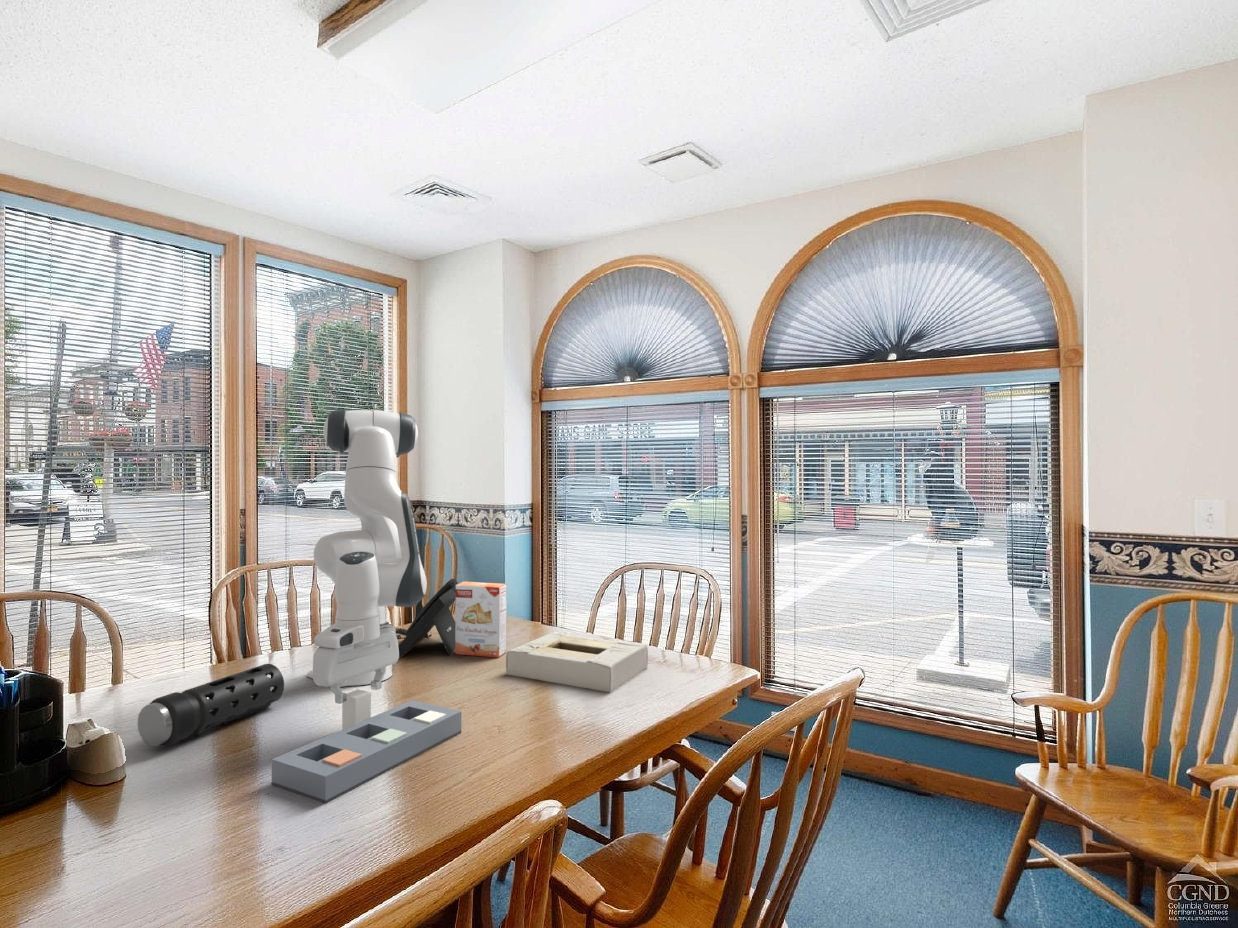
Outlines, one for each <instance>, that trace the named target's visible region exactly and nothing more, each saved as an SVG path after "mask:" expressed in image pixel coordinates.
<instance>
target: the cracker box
mask: <svg viewBox="0 0 1238 928" xmlns="http://www.w3.org/2000/svg"><path fill="white" fill-rule="evenodd" d="M454 620H455V651H454V654H455V655H464V656H474V657H475V656H477V657H488V658H500V657H501V656H503V655H505V654H506V653H507V584H506V583H499V582H497V583H496V582H481V581H480V582H479V581H462V582H458V584H457V585H456V600H455V618H454Z"/></svg>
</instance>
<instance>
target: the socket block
mask: <svg viewBox="0 0 1238 928" xmlns="http://www.w3.org/2000/svg"><path fill="white" fill-rule="evenodd" d="M461 733H462V710H457V709H453V708H449V707H445V706H440V705H436V704H431V703H427V702H422V701H418V700H413V699H411V700H409V701H407V702H404V703H402V704H400V705H397V706H395V707H393V708H390V709H387V710H385V711H383V712H381V713H379V714H376V715H374V716H371V718H369V719H366V720H364V721H361V722H359V723H357V724H354V725H352V726H350V727H347V728H345V729H342V728H341V729H340V730H338V731H336V732H333V733H331V734H329V735H326V736H324V737H321V738H319V739H317V740H314V741H312V742H310V743H308V744H304V745H302V746H299V747H298V748H295V749H293V750H291V751H288V752H286V753H283V754H281V755H279V756H276V757H273V758H272V759H271V785H272V786H275V787H277V788H280V789H283V790H287V791H289V792H292V793H295V794H298V795H301V796H304V797H306V798H309V799H312V800H316V801H318V802H320V803H324V804H327V803H329V802H331V801H333V800H335V799H337V798H339V797H340V796H342V795H344V794H346V793H349V792H351V791H352V790H354V789H356V788H358V787H360V786H362V785H364V784H366V783H368V782H370V781H371V780H373V779H375V778H377V777H379V776H381V775H383V774H385V773H386V772H389V771H390V770H392V769H395V768H396V767H398V766H400V765H402V764H404V763H406V762H407V761H411V759H413V758H416V757H418V756H419V755H421V754H423V753H425V752H426V751H428V750H429V751H430V749H433V748H434V747H436V746H438V745H440V744H442V743H444V742H446V741H448V740H450V739H451V738H453V737H456V736H457V735H460V734H461Z"/></svg>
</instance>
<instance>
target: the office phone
mask: <svg viewBox="0 0 1238 928" xmlns="http://www.w3.org/2000/svg"><path fill="white" fill-rule="evenodd" d="M457 584H459V582H458V580H457V579H455V578H451V579H449V580H448V581H447V582H446V583H445V584H444V585H443V586H442V587H441V588H440V589H439V590H438V591H437V592H436V593H435V594H434V595H433V596H432V597H431V598H430V599H429V601H428V602H427V603H426V604H425V605H424V606H423V607H422V609H420V611H419V613H417V615H416V617H414V619H413V621H412V622H411V623H410V625H409V627H408V628H407V629H405V628H401V627H395V628H396V633H399V634H396V636H397V641H398V640H402V639H403V640H402V641H401V642H400V643H398V648H399V659H400V658H403V657H404V656H405V655H406V654H407V653H408V652H409V651H411V649H413V648H414V647H415V646H416V645H418V643H420V642H421V641H422V640H424V639H425V638H431V637H432V634H429V632H431V630H432V629H433V627H434V626H435V628H436V631H437V633H438V635H439V638H440V640H441V642H442V644H443V646H444V648H445V650H446V652H447V655H448V657H450V656H451V655H452V654H453V653H455V618H454V616H453V614H452V612H451V610H450V607H451V606H452V605H453V604H454V602H456V585H457ZM401 634H404V635H405V637H402V636H401Z"/></svg>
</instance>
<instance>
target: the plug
mask: <svg viewBox="0 0 1238 928" xmlns="http://www.w3.org/2000/svg"><path fill="white" fill-rule="evenodd" d="M346 693H347V697H346V698H347V701H346V702H343V703H341V704H342V705H341V708H342V711H341V712H342V713H341V714H342V716H341V717H342V718H341V719H342V725H341V726H342V727H341V730H342V729H345V728H347V727H350V726H352V725H354V724H357V723H359V722H361V721H364V720H366V719H369V718H371V717H372V692H371V691H365V690H361V689H355V690H351V691H350V692H346Z"/></svg>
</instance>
